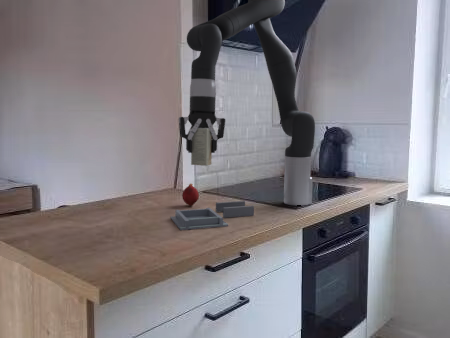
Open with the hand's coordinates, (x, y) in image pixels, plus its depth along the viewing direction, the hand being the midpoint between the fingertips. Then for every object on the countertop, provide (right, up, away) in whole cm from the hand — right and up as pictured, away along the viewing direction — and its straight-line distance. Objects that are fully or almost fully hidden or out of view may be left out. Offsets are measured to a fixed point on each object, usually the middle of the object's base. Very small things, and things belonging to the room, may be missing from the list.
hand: (201, 152), depth 122 cm
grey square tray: (-1, -21, +1) cm, 21 cm away
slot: (+10, -19, +12) cm, 25 cm away
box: (0, -4, +1) cm, 4 cm away
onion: (-5, -18, +23) cm, 30 cm away
